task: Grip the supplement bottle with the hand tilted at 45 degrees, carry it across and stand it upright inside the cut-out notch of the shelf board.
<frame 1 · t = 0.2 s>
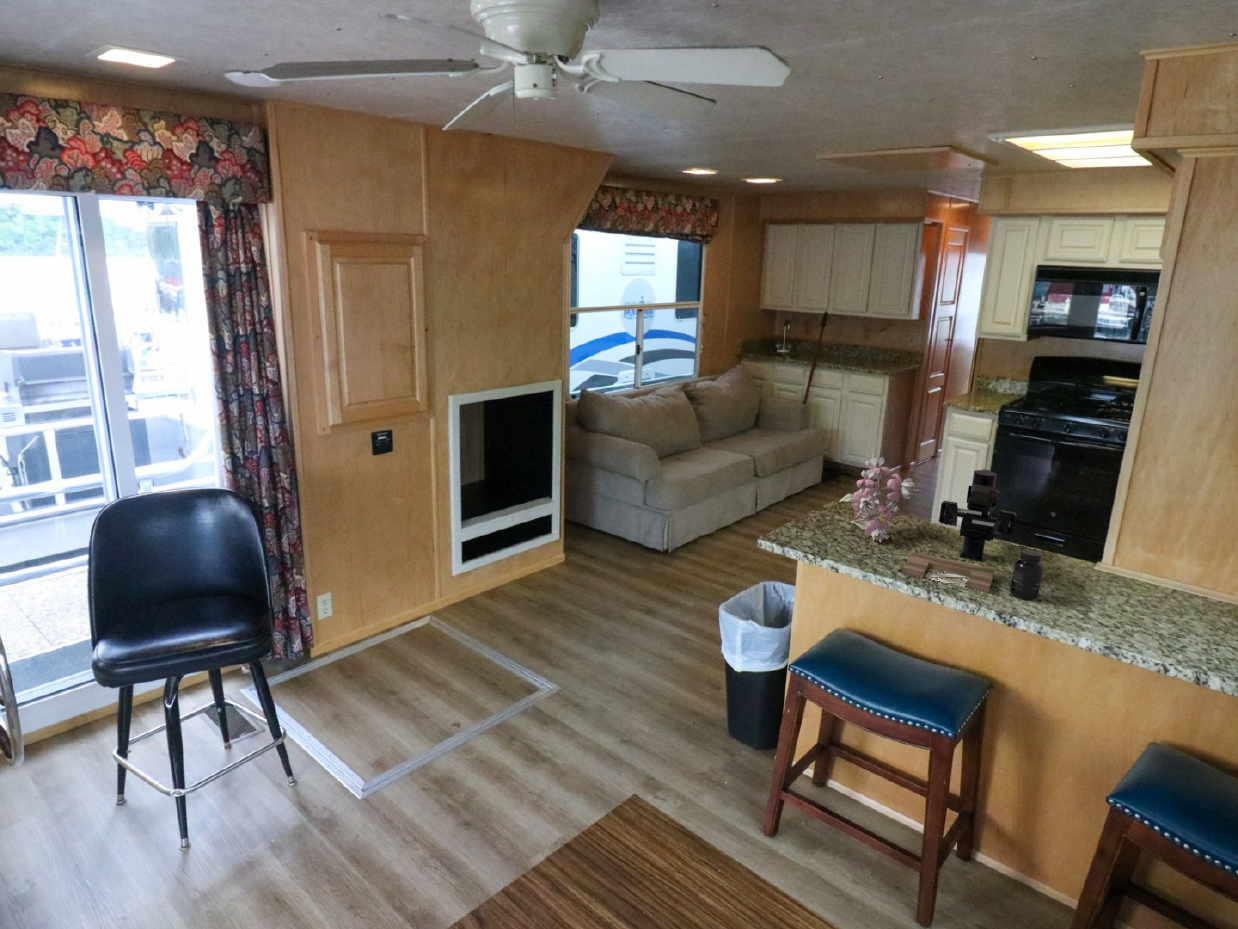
hand: (974, 527, 203), 17 cm above the countertop, tool horizontal, fingers open, 9 cm apart
notched shelf board: (948, 574, 214), on the countertop
supplement bottle: (1023, 596, 203), on the countertop
flower: (873, 535, 244), on the countertop
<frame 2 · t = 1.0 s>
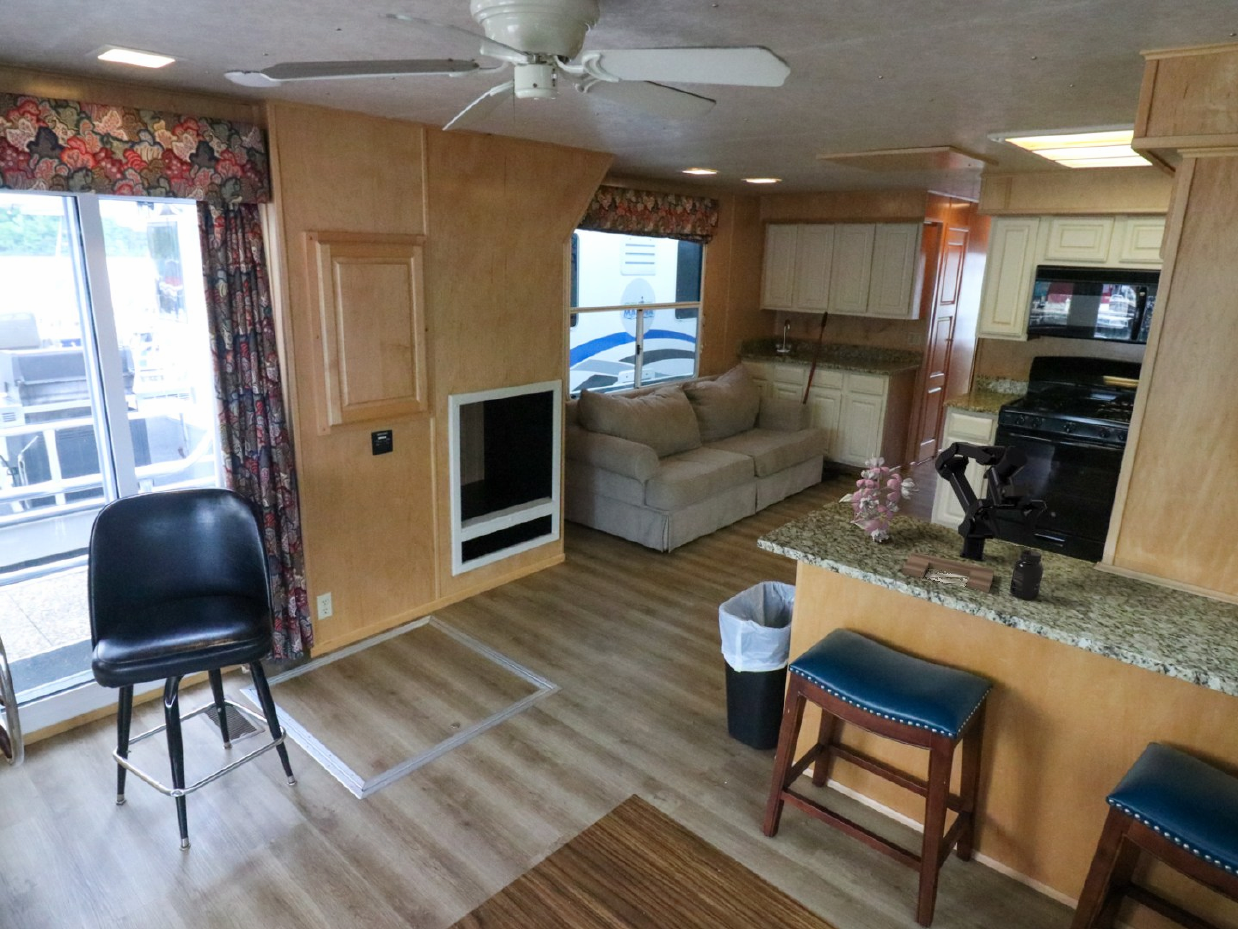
hand: (1015, 536, 206), 14 cm above the countertop, tool tilted 45°, fingers open, 9 cm apart
nothing on the countertop moved.
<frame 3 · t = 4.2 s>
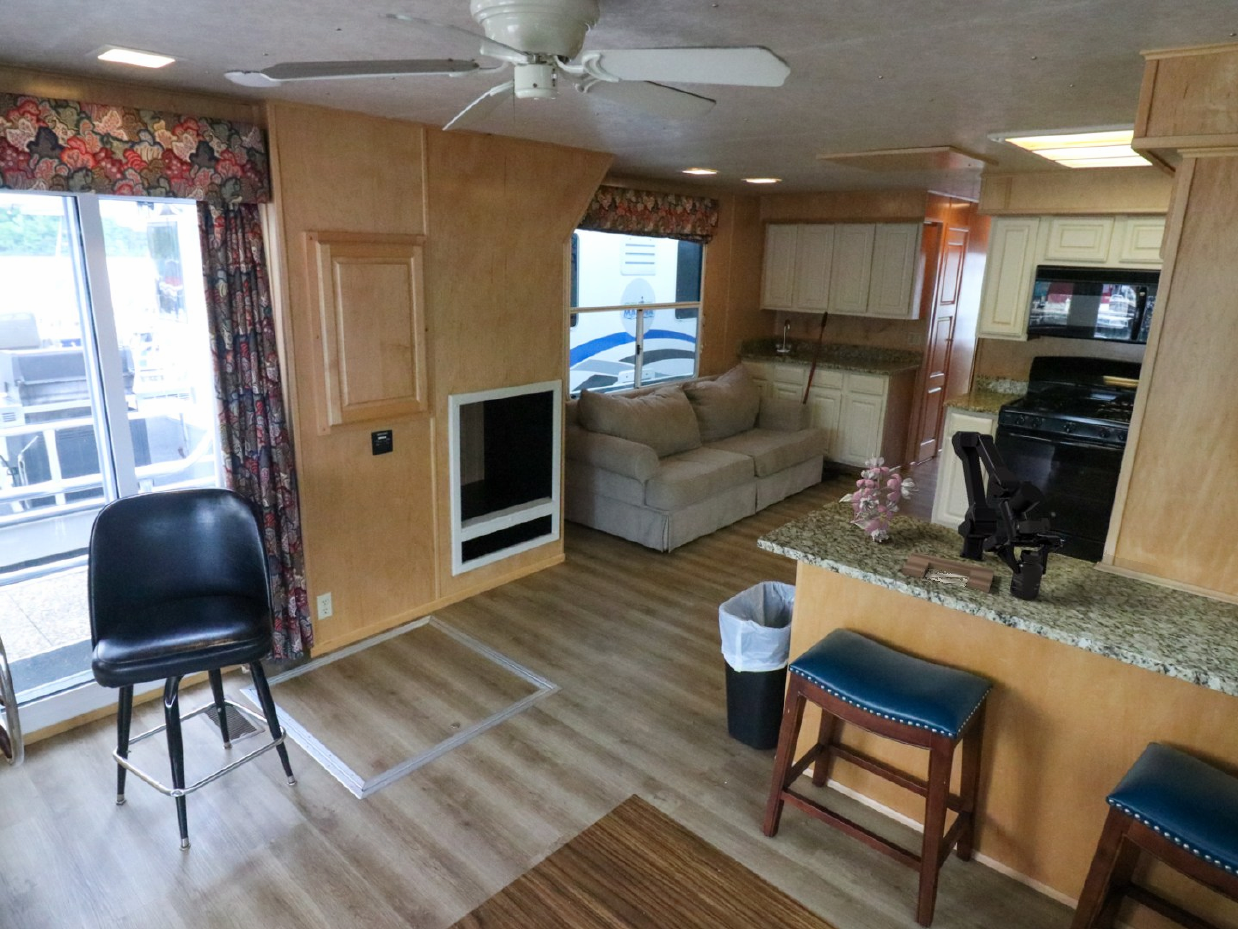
hand: (1030, 574, 199), 7 cm above the countertop, tool tilted 45°, fingers closed on supplement bottle, 7 cm apart
supplement bottle: (1023, 596, 203), on the countertop, touching gripper
everything else where it was.
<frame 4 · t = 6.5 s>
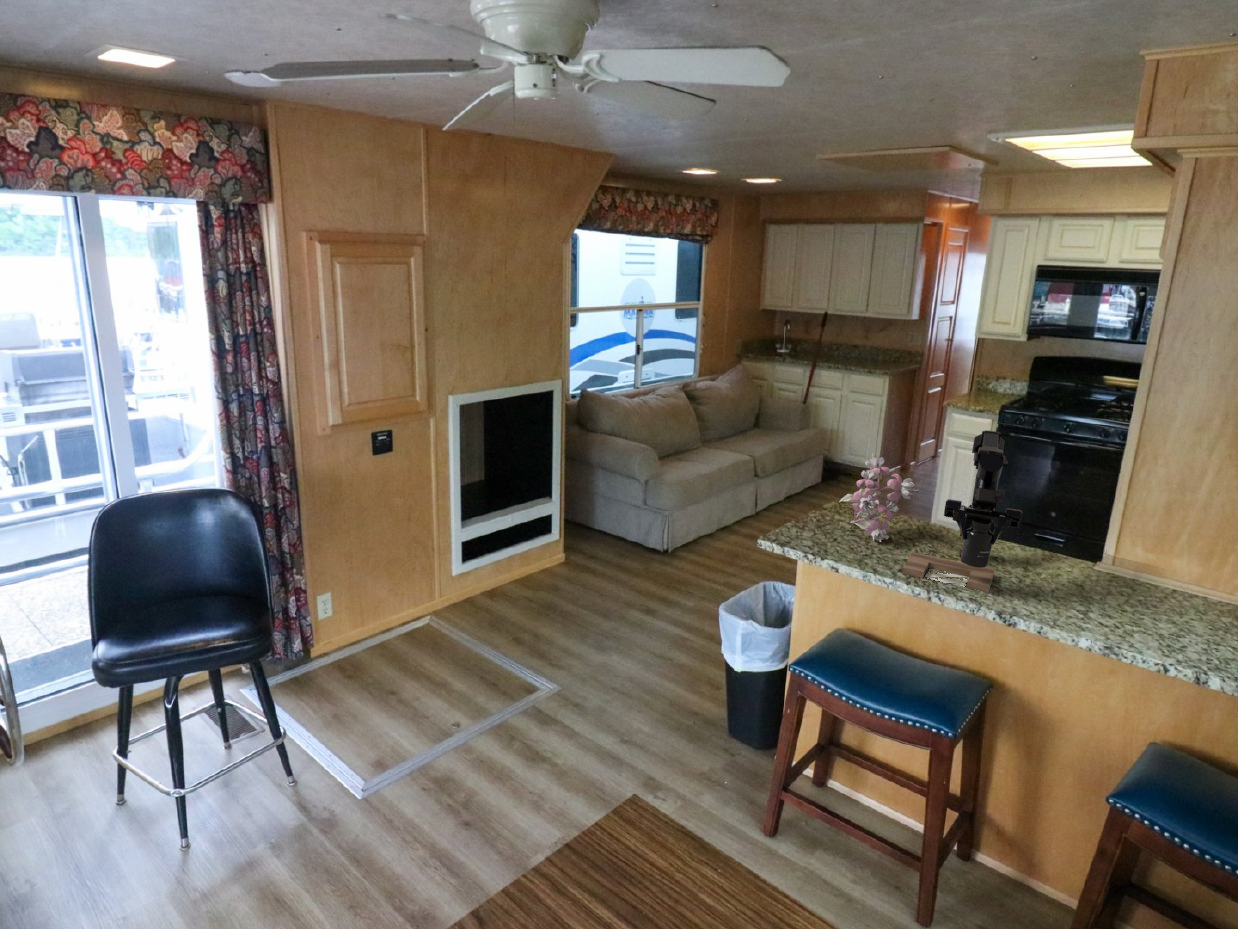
hand: (978, 541, 202), 13 cm above the countertop, tool tilted 45°, fingers closed on supplement bottle, 7 cm apart
supplement bottle: (974, 563, 205), point 6 cm above the countertop, touching gripper
everything else where it was.
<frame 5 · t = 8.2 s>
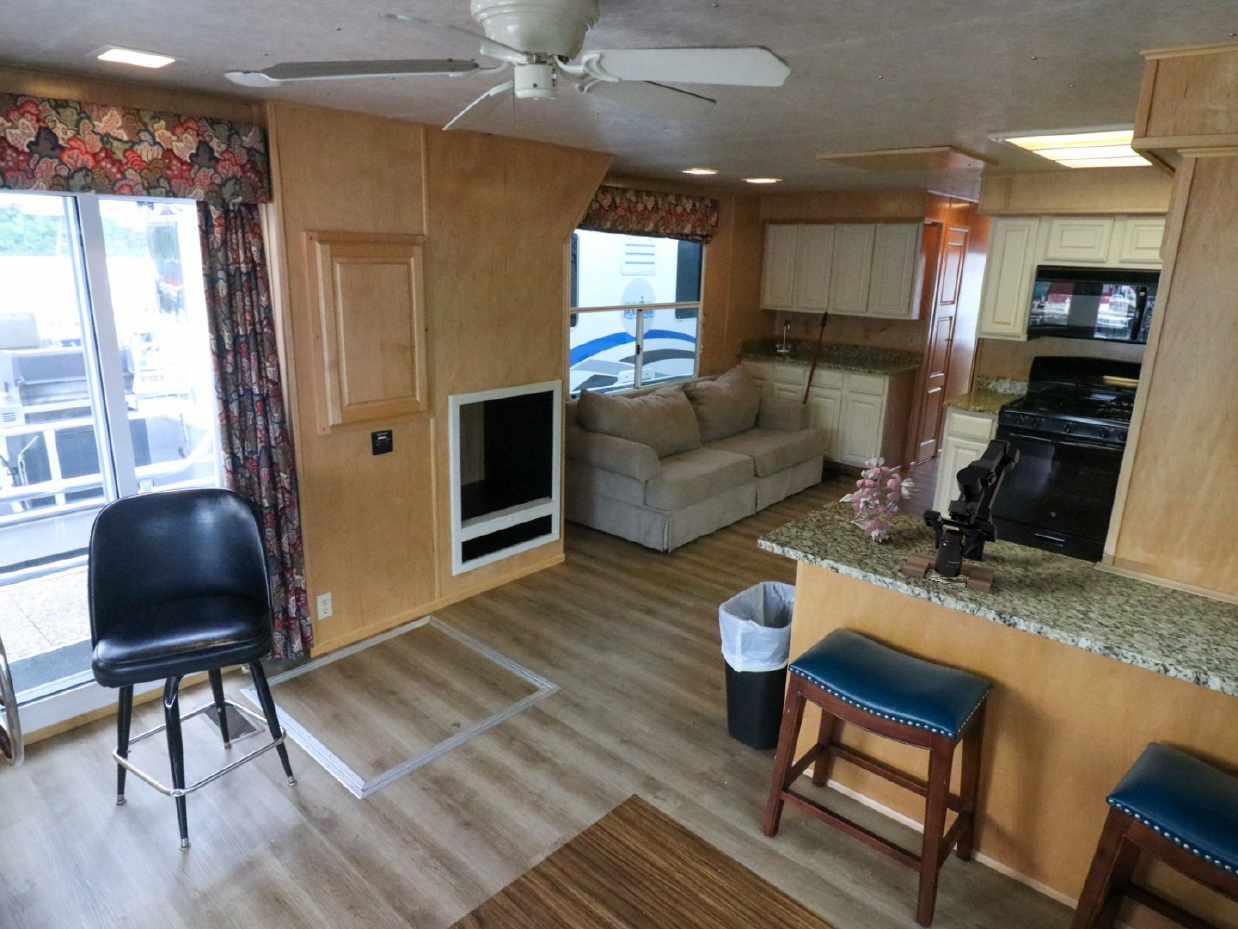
hand: (949, 551, 208), 8 cm above the countertop, tool tilted 45°, fingers closed on supplement bottle, 7 cm apart
supplement bottle: (946, 573, 211), point 1 cm above the countertop, touching gripper
everything else where it was.
when the fingers open (8 cm above the countertop, at t = 9.3 s): supplement bottle stays where it is, resting on notched shelf board.
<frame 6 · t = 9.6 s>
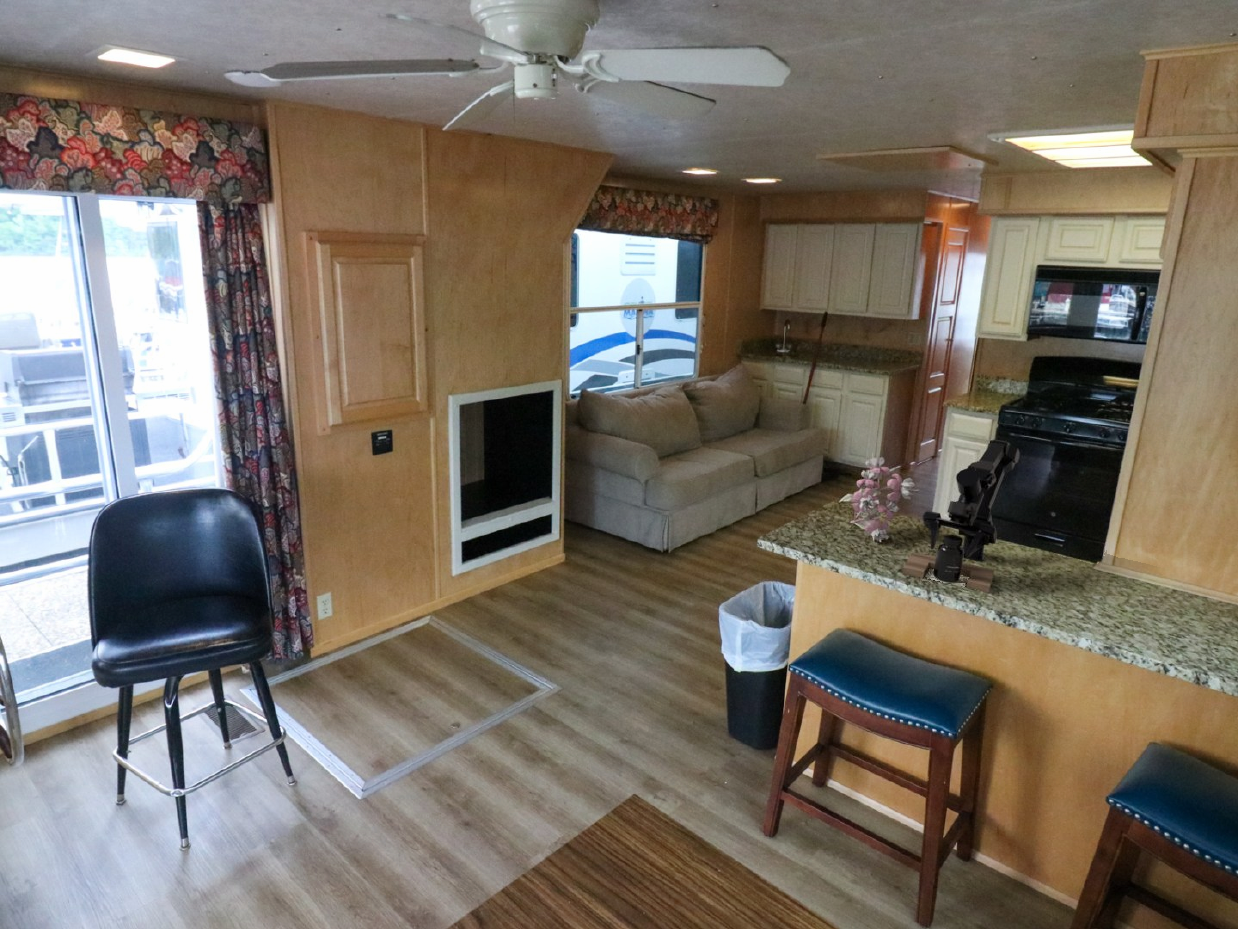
hand: (948, 553, 208), 8 cm above the countertop, tool tilted 45°, fingers open, 9 cm apart
supplement bottle: (945, 578, 211), resting on notched shelf board
everything else where it was.
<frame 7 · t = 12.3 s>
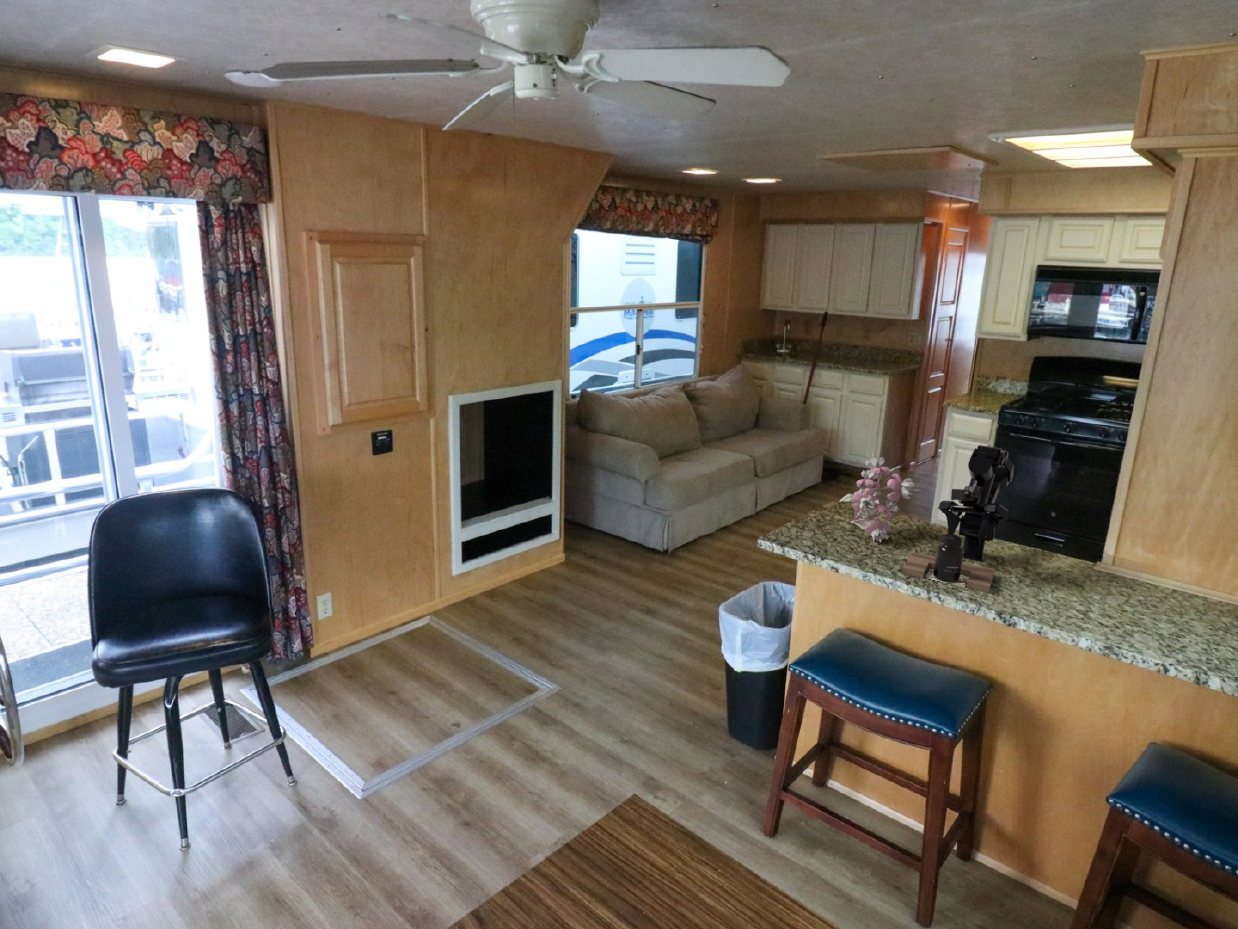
hand: (964, 538, 215), 10 cm above the countertop, tool tilted 35°, fingers open, 9 cm apart
nothing on the countertop moved.
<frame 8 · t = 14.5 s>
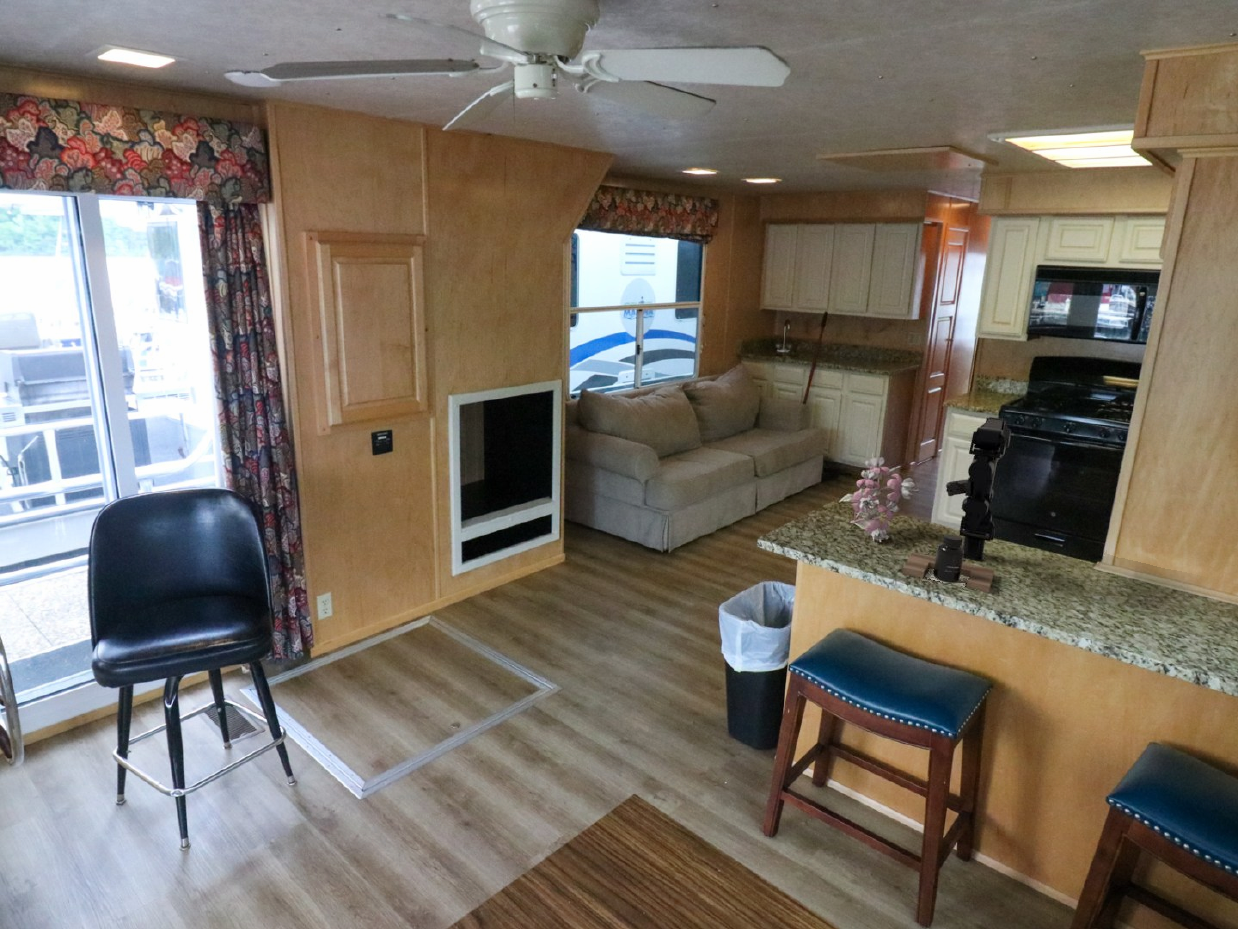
hand: (973, 527, 214), 13 cm above the countertop, tool pointing down, fingers open, 9 cm apart
nothing on the countertop moved.
at the end: supplement bottle 0.5 cm from the target spot on the notched shelf board, point 0.0 cm above the notched shelf board's base; supplement bottle tilted 0°; the gripper is holding nothing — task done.
